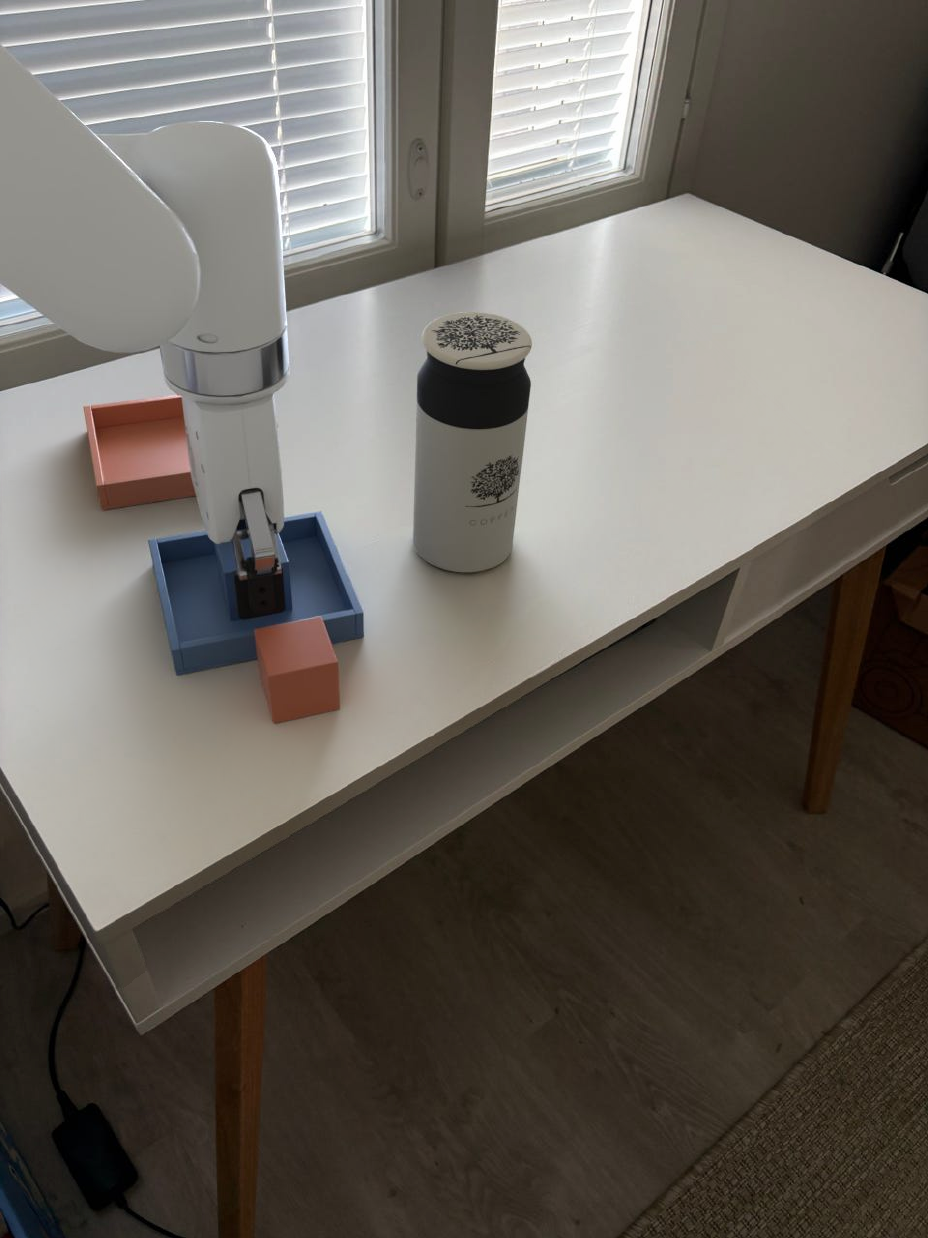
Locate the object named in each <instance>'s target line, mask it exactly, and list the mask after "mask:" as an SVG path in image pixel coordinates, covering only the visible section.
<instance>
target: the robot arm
mask: <svg viewBox="0 0 928 1238" xmlns="http://www.w3.org/2000/svg"><path fill="white" fill-rule="evenodd" d="M280 198H281V197H280V183H279V172H278V164H277V161H276V157H275V153H274V152H273V150H272V148H271V146H270V145H269V144H268V142H267V140H265V139H264V138H263V137H262V136H261V135H259V134H258V133H256V132H255V131H254V130H251V129H249V128H247V127H243V126H240V125H237V124H233V123H227V122H221V121H210V120H190V121H182V122H176V123H171V124H166V125H164V126H160V127H158V128H157V127H156V128H154V129H153V130H151V131H149V132H147V133H128V134H125V133H118V134H117V133H108V134H107V133H95V132H93V130H91V129H90V128H89V127H88V126H87V125H86V124H85V123H84V122H83V121H82V119H80V118H78V116H77V115H76V114H75V113H73V112H72V110H70V109H69V107H67V105H65V104H64V103H63V102H62V101H61V100H60V99H59V98H58V97H57V96H56V95H54V94H53V93H52V91H50V90H49V89H48V88H47V87H46V86H45V85H44V84H43V83H42V82H41V81H40V80H39V79H38V78H37V77H36V76H34V74H33V73H32V72H31V71H29V69H28V68H27V67H25V66H24V65H23V64H22V63H21V62H20V61H19V60H18V59H17V58H16V57H15V56H14V55H13V54H12V53H11V52H10V51H9V50H8V49H7V48H6V47H5V46H3V44H1V43H0V285H1V286H3V287H4V288H5V289H7V290H8V291H10V292H11V293H12V294H13V295H15V296H16V297H17V298H19V299H21V300H22V301H23V302H24V303H26V304H27V305H28V306H30V307H31V308H33V309H34V310H35V311H36V312H38V313H39V314H41V315H42V316H43V317H45V318H46V319H47V320H49V321H50V322H52V323H53V324H54V325H56V326H57V327H58V328H59V329H61V330H62V331H64V332H65V333H67V335H70V336H71V337H72V338H73V339H76V340H77V341H79V342H81V343H83V344H85V345H87V346H89V347H92V348H95V349H98V350H100V351H106V352H110V353H116V354H134V353H135V354H136V353H139V352H140V353H141V352H145V351H150V350H152V349H155V348H157V347H159V353H160V354H159V355H160V359H161V366H162V372H163V377H164V379H163V380H164V382H165V384H166V385H167V387H168V388H169V389H170V390H171V391H173V392H174V393H175V395H177V394H178V395H180V396H182V405H183V413H184V421H185V429H186V438H187V447H188V458H189V467H190V473H191V478H192V482H193V486H194V490H195V493H196V496H195V497H196V501H197V504H198V507H199V511H200V516H201V518H202V522H203V525H204V529H205V530H206V532H207V535H208V537H209V539H210V540H212V541H213V542H214V543H216V544H221V543H223V542H230V541H232V546H233V552H234V557H235V562H236V567H237V570H235V571H233V579H234V587H235V595H236V604H237V612H238V615H239V618H240V619H242V620H246V619H251V618H256V617H262V616H267V615H273V614H278V613H282V612H284V611H285V609H286V604H285V591H284V577H283V567H282V564H281V562H280V557H279V552H278V546H277V541H276V535H277V534H278V533H279V532H280V531H281V530H282V528H283V527H284V517H285V504H284V503H285V502H284V487H283V486H284V485H283V472H282V471H283V470H282V460H281V449H280V441H279V423H278V420H277V418H278V417H277V409H276V408H277V407H276V399H275V393H277V392H278V391H279V390H280V389H282V388H283V387H284V386H285V384H286V383H287V382H288V381H289V378H290V374H291V373H290V372H291V370H290V368H291V367H290V355H289V353H290V352H289V339H288V320H287V318H288V317H287V302H286V285H285V284H286V283H285V269H284V267H285V266H284V251H283V234H282V233H283V232H282V219H281V218H282V217H281V216H282V215H281V199H280ZM243 529H244V530H243ZM237 530H238V531H237ZM275 534H276V535H275ZM244 539H249V541H250V546H251V555H252V557H248V558H247V559H246V561H245V558H244V553H243V547H242V542H241V540H244Z"/></svg>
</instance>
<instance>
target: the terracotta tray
mask: <svg viewBox="0 0 928 1238" xmlns="http://www.w3.org/2000/svg"><path fill="white" fill-rule="evenodd" d="M83 414H84V419H85V425H86V431H87V438H88V444H89V451H90V457H91V462H92V468H93V475H94V481H95V487H96V491H97V495H98V496H97V497H98V499H99V500H98V501H99V504H100V508H101V511H105V510H106V511H107V510H112V509H113V510H114V509H119V508H126V507H131V506H138V505H144V504H145V505H146V504H152V503H158V502H163V501H170V500H178V499H185V498H189V497H196V493H195V490H194V486H193V482H192V478H191V473H190V467H189V458H188V447H187V438H186V429H185V421H184V413H183V405H182V396H180V395H178V394H170V395H162V396H154V397H146V398H139V399H130V400H123V401H116V402H107V403H99V404H91V405H85V406H83Z"/></svg>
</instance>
